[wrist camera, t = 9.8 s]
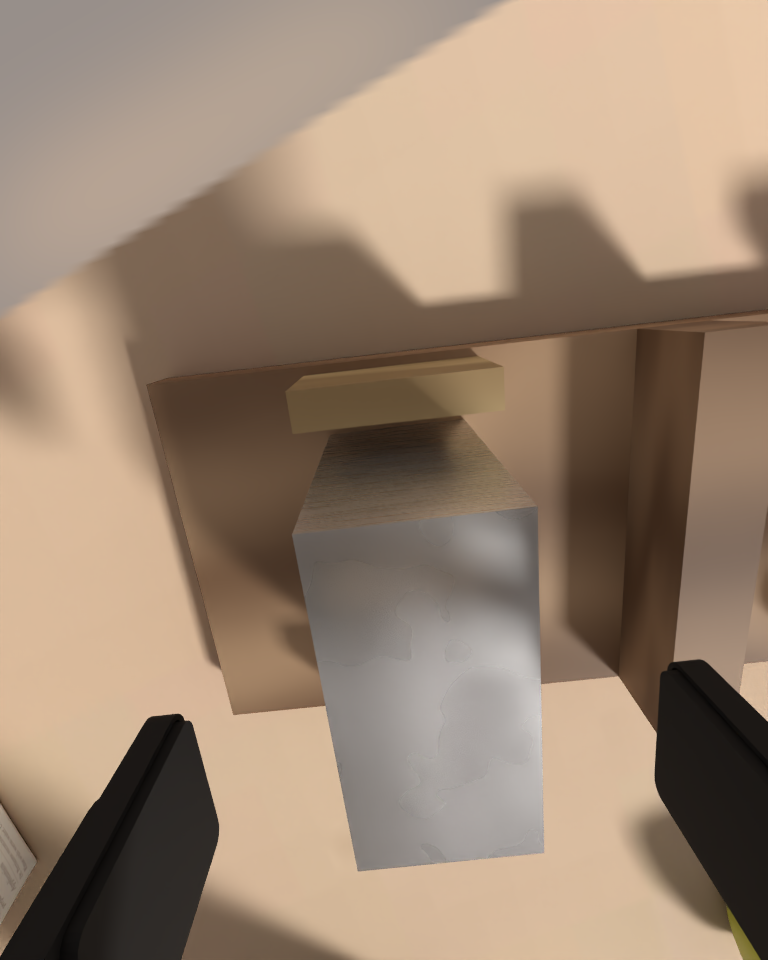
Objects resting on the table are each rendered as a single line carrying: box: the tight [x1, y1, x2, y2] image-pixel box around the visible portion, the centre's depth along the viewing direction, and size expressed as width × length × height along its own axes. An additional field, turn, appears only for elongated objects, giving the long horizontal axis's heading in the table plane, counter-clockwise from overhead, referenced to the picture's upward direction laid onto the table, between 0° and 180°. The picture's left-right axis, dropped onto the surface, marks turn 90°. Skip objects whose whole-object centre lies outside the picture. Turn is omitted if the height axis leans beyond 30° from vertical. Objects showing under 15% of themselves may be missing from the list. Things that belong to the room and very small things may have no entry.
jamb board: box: [147, 310, 768, 733], centre depth 15 cm, size 12×30×4 cm, turn 96°
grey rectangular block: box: [292, 419, 544, 871], centre depth 13 cm, size 8×4×7 cm, turn 7°
